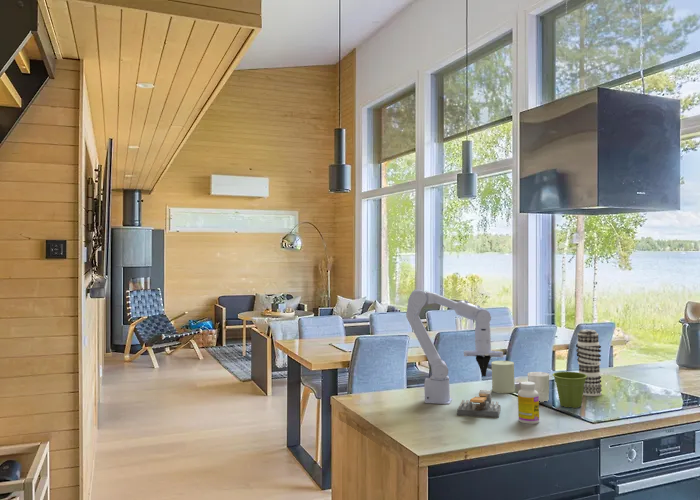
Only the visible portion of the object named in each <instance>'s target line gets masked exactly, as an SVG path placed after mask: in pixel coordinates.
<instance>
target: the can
mask: <svg viewBox="0 0 700 500" xmlns="http://www.w3.org/2000/svg"><path fill="white" fill-rule="evenodd" d="M490 364H491V384H492V387H491V392H493V393H497V394H513V393H515V392H516V388H515V387H516V386H515V362H514V361H511V360H493V361H491V363H490ZM512 392H513V393H512Z"/></svg>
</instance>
